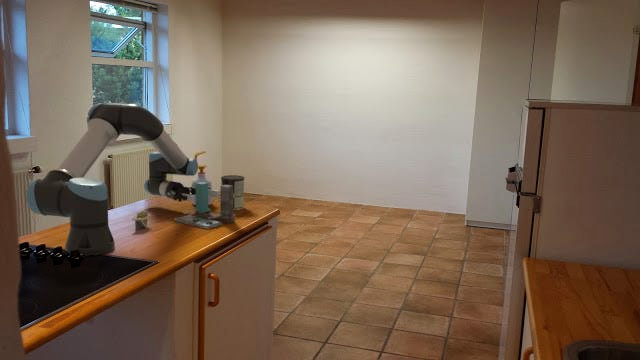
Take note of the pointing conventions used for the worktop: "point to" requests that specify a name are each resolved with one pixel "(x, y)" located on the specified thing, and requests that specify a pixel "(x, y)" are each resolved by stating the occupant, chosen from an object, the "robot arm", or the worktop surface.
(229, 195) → the grey l-shaped piece
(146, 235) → the worktop surface
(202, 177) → the soap bottle
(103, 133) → the robot arm
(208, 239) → the worktop surface
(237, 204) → the coffee can
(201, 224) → the plate
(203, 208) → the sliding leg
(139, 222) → the potted plant
